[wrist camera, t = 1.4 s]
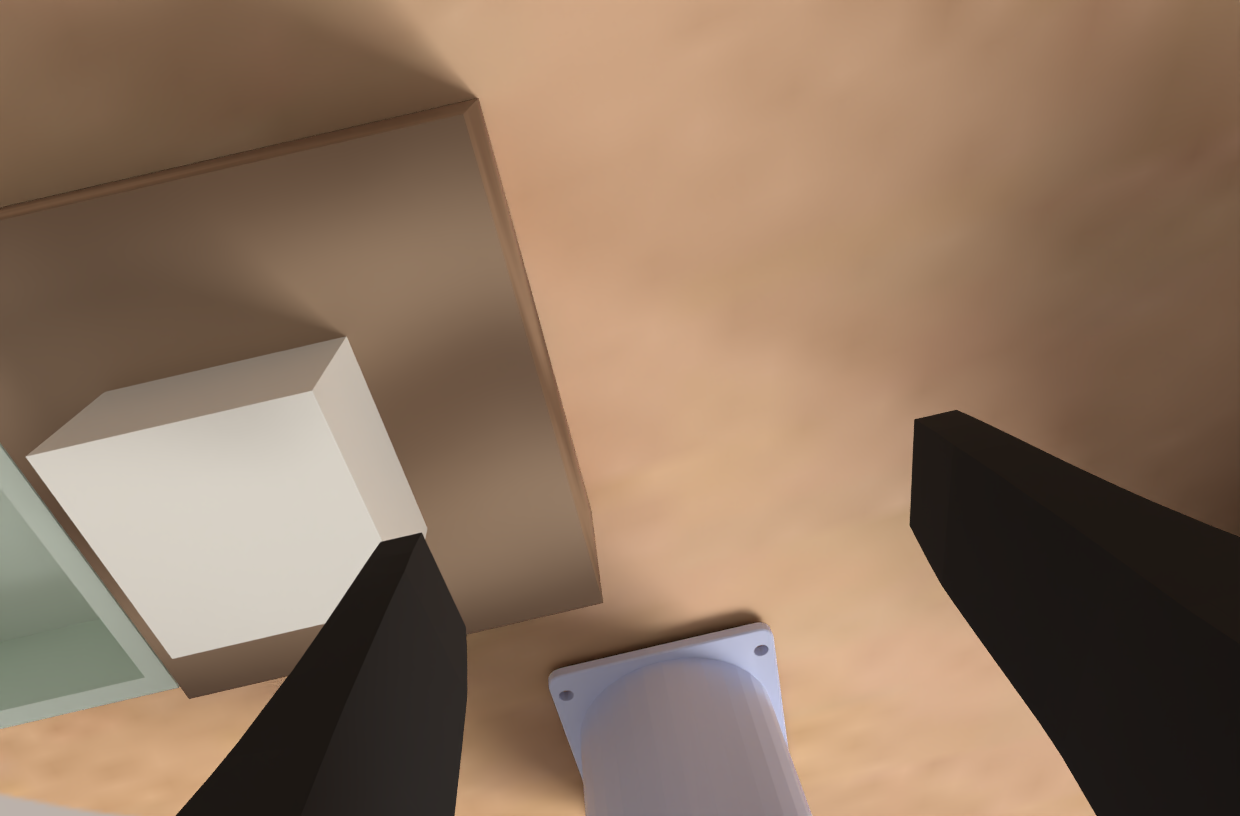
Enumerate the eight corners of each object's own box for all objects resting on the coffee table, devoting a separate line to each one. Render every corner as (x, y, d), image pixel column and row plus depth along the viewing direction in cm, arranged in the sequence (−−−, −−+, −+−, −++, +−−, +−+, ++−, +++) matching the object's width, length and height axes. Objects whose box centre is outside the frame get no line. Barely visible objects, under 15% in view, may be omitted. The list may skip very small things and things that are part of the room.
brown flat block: (591, 511, 22) (603, 602, 18) (244, 591, 22) (189, 699, 18) (478, 98, 16) (463, 114, 12) (7, 205, 16) (-141, 252, 12)
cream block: (427, 528, 16) (411, 603, 14) (219, 576, 16) (172, 658, 14) (346, 336, 14) (312, 390, 12) (104, 392, 14) (25, 456, 12)
